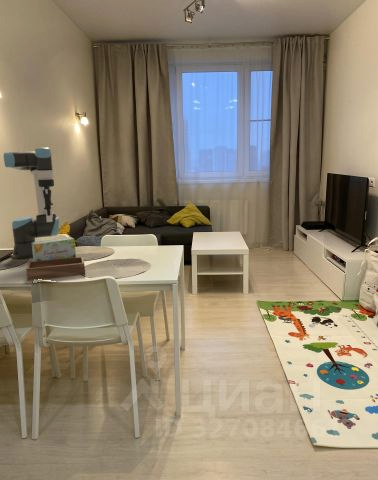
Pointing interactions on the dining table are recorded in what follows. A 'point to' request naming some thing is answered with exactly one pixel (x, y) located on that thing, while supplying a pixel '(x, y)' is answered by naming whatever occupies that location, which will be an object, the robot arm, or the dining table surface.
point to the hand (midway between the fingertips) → (50, 219)
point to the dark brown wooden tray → (55, 268)
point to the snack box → (54, 249)
